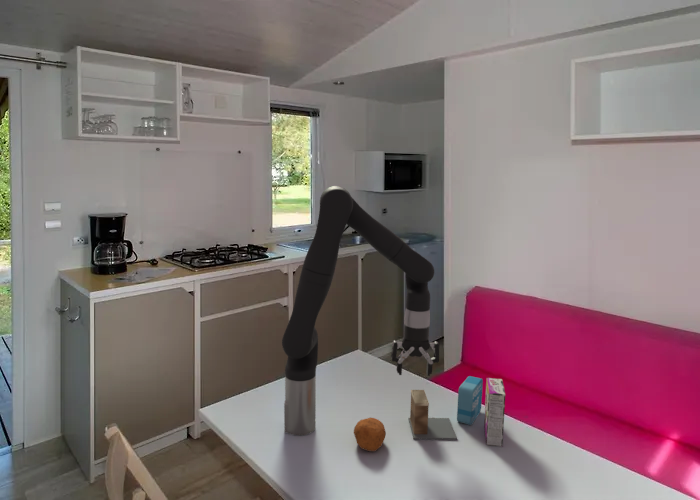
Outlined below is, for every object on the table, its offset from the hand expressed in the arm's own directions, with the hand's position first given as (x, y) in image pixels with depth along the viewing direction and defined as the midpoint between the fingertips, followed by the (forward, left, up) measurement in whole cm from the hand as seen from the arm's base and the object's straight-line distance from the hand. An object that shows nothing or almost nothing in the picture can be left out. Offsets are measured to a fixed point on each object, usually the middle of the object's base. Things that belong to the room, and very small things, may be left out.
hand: (414, 374), depth 154 cm
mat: (+6, -1, -18) cm, 19 cm away
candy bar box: (+24, -5, -18) cm, 30 cm away
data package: (+20, +7, -18) cm, 27 cm away
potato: (-14, -9, -18) cm, 24 cm away
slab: (+2, 0, -17) cm, 17 cm away
